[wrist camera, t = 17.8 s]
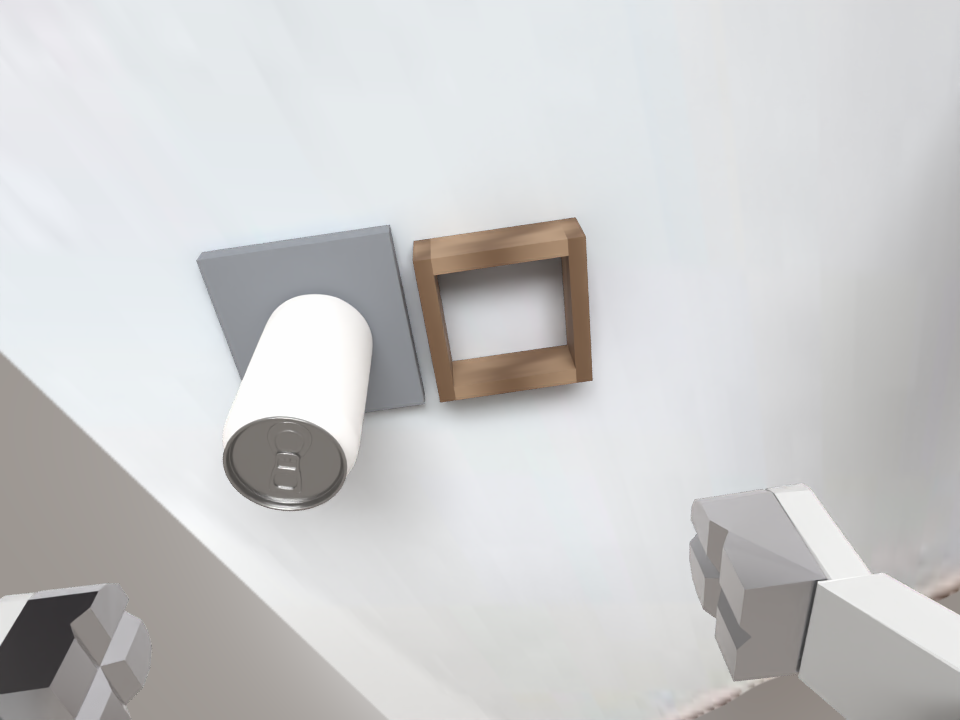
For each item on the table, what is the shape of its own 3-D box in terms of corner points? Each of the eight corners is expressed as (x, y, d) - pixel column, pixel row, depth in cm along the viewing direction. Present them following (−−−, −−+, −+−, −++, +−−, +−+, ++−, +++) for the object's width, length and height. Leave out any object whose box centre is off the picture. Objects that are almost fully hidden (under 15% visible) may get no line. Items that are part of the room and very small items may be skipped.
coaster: (389, 224, 39) (388, 232, 38) (424, 393, 46) (424, 403, 45) (202, 252, 39) (196, 260, 38) (263, 416, 46) (259, 427, 45)
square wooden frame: (575, 217, 40) (585, 236, 37) (583, 355, 45) (592, 380, 42) (413, 241, 40) (412, 261, 37) (439, 376, 45) (440, 402, 42)
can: (380, 299, 40) (364, 420, 30) (366, 388, 44) (348, 524, 33) (268, 281, 39) (213, 400, 29) (263, 374, 43) (211, 510, 32)
